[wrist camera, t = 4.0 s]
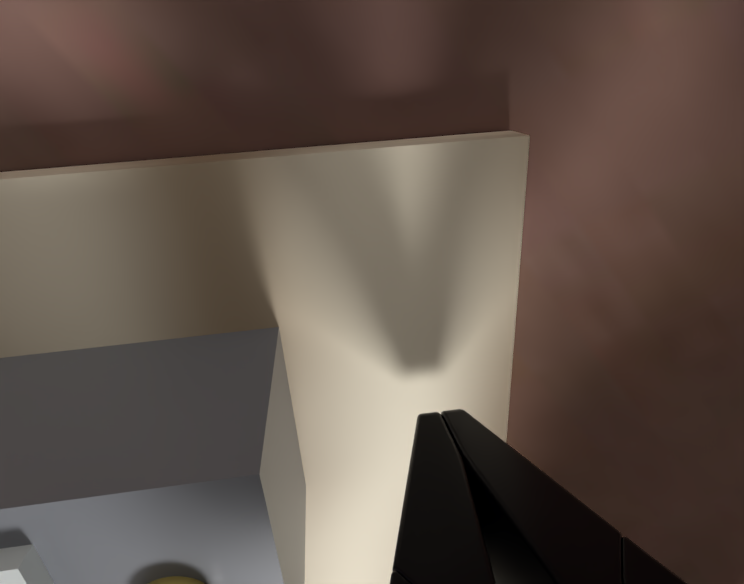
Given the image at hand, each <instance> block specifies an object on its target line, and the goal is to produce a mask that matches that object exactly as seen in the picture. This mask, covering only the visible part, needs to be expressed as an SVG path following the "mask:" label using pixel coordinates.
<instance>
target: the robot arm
mask: <svg viewBox="0 0 744 584" xmlns="http://www.w3.org/2000/svg"><path fill="white" fill-rule="evenodd" d="M392 571H393V572H392V574H391V578H390V584H687V583H686V582H684V581H683V580H682V579H680V578H679V577H678V576H676V575H675V574H674V573H673V572H671V571H670V570H669V569H667V568H666V567H665V566H663V565H662V564H661V563H659V562H658V561H657V560H655V559H654V558H653V557H651V556H650V555H649V554H647V553H646V552H645V551H643V550H642V549H641V548H640V547H638V546H637V545H636V544H635V543H633V542H632V541H631V540H629V539H628V538H627V537H622V535H621V533H620V532H619V531H618V530H616V529H615V528H614V527H613V526H611V525H610V524H609V523H608V522H606V521H605V520H604V519H602V518H601V517H600V516H599V515H597V514H596V513H595V512H593V511H592V510H591V509H590V508H588V507H587V506H586V505H585V504H583V503H582V502H581V501H579V500H578V499H577V498H576V497H574V496H573V495H572V494H571V493H569V492H568V491H567V490H565V489H564V488H563V487H562V486H560V485H559V484H558V483H557V482H555V481H554V480H553V479H551V478H550V477H549V476H548V475H546V474H545V473H544V472H543V471H541V470H540V469H539V468H537V467H536V466H535V465H534V464H532V463H531V462H530V461H529V460H527V459H526V458H525V457H523V456H522V455H521V454H520V453H518V452H517V451H516V450H515V449H513V448H512V447H511V446H509V445H508V444H507V443H506V442H504V441H503V440H502V439H500V438H499V437H498V436H497V435H495V434H494V433H493V432H492V431H490V430H489V429H488V428H486V427H485V426H484V425H483V424H481V423H480V422H479V421H478V420H476V419H475V418H474V417H472V416H471V415H470V414H469V413H467V412H466V411H465V410H463V409H454V410H446V411H443V412H441V414H440V413H438V412H430V413H422V414H419V415H418V417H417V422H416V428H415V434H414V440H413V446H412V452H411V458H410V464H409V470H408V476H407V483H406V489H405V495H404V501H403V507H402V513H401V519H400V525H399V531H398V537H397V543H396V550H395V556H394V562H393V568H392Z"/></svg>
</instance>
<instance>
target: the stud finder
mask: <svg viewBox="0 0 744 584" xmlns="http://www.w3.org/2000/svg"><path fill="white" fill-rule="evenodd" d="M305 519H306V483H305V477H304V471H303V466H302V460H301V454H300V448H299V442H298V436H297V430H296V424H295V418H294V413H293V407H292V401H291V395H290V389H289V383H288V377H287V371H286V365H285V360H284V354H283V348H282V342H281V336H280V330H279V327H274V328H265V329H256V330H247V331H238V332H229V333H220V334H211V335H202V336H193V337H184V338H175V339H166V340H157V341H148V342H139V343H130V344H121V345H113V346H104V347H95V348H86V349H77V350H68V351H59V352H50V353H41V354H32V355H23V356H14V357H5V358H0V584H305Z"/></svg>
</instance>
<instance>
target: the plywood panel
mask: <svg viewBox="0 0 744 584" xmlns="http://www.w3.org/2000/svg"><path fill="white" fill-rule="evenodd" d="M529 141H530V135H526V134H523V133H519V132H515V131H512V130H509V131H497V132H485V133H473V134H460V135H448V136H436V137H424V138H412V139H399V140H387V141H375V142H363V143H351V144H338V145H326V146H314V147H302V148H289V149H277V150H265V151H253V152H241V153H228V154H216V155H204V156H192V157H179V158H167V159H155V160H143V161H131V162H118V163H106V164H94V165H82V166H69V167H57V168H45V169H33V170H21V171H8V172H0V358H5V357H14V356H23V355H32V354H41V353H50V352H59V351H68V350H77V349H86V348H95V347H104V346H113V345H121V344H130V343H139V342H148V341H157V340H166V339H175V338H184V337H193V336H202V335H211V334H220V333H229V332H238V331H247V330H256V329H265V328H274V327H279V330H280V336H281V342H282V348H283V354H284V360H285V365H286V371H287V377H288V383H289V389H290V395H291V401H292V407H293V413H294V418H295V424H296V430H297V436H298V442H299V448H300V454H301V460H302V466H303V471H304V477H305V483H306V519H305V584H390V578H391V574H392V572H393V571H392V568H393V562H394V556H395V550H396V543H397V537H398V531H399V525H400V519H401V513H402V507H403V501H404V495H405V489H406V483H407V476H408V470H409V464H410V458H411V452H412V446H413V440H414V434H415V428H416V422H417V417H418V415H419V414H422V413H430V412H438V413H440V414H441V412H443V411H446V410H454V409H463V410H465V411H466V412H467V413H469V414H470V415H471V416H472V417H474V418H475V419H476V420H478V421H479V422H480V423H481V424H483V425H484V426H485V427H486V428H488V429H489V430H490V431H492V432H493V433H494V434H495V435H497V436H498V437H499V438H500V439H502V440H503V441H504V442H506V440H507V427H508V414H509V401H510V388H511V375H512V362H513V349H514V336H515V323H516V310H517V297H518V284H519V271H520V258H521V245H522V232H523V219H524V206H525V193H526V180H527V167H528V154H529Z"/></svg>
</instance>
